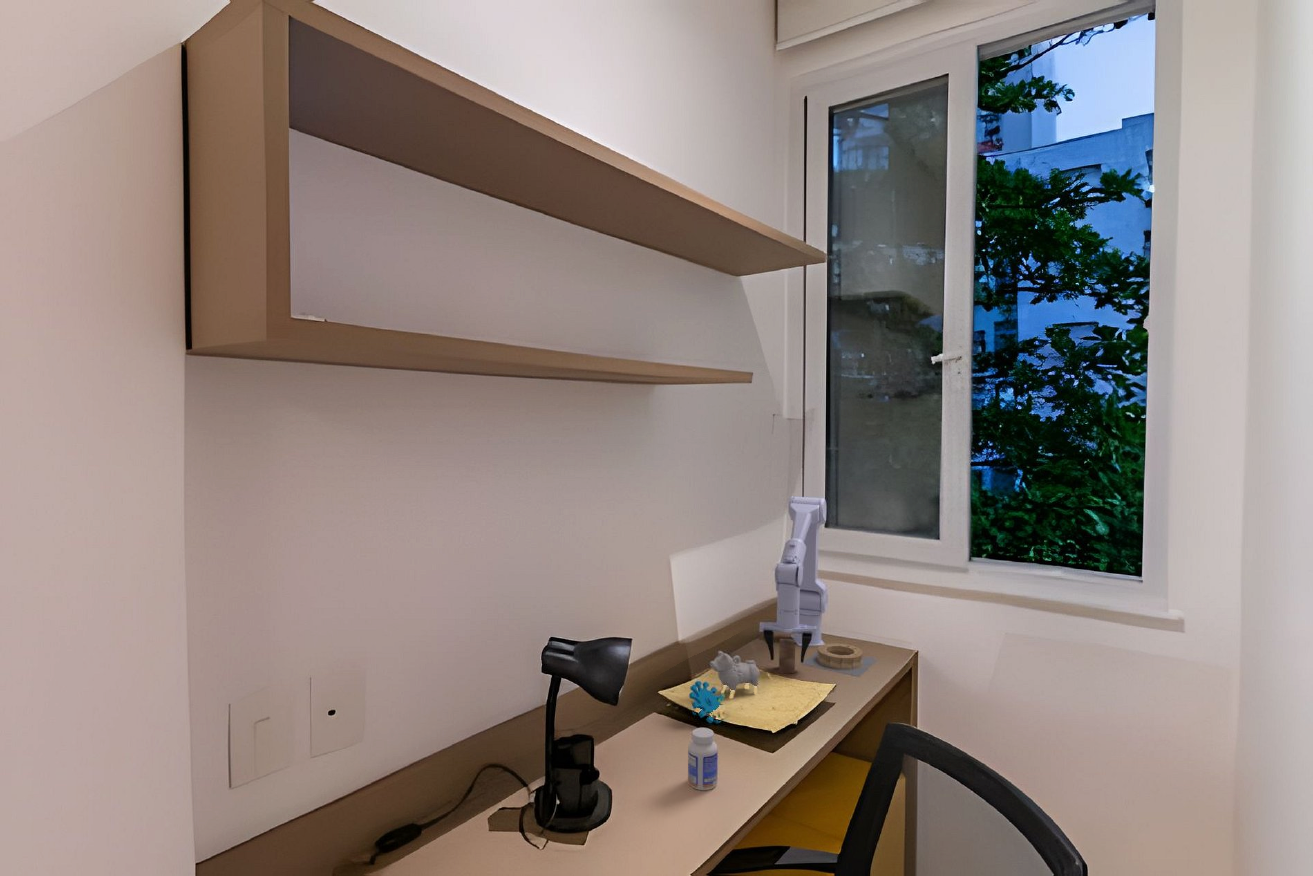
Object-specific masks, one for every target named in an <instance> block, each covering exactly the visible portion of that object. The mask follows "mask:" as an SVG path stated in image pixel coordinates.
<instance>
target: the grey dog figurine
mask: <svg viewBox="0 0 1313 876" xmlns="http://www.w3.org/2000/svg"><path fill="white" fill-rule="evenodd" d="M717 654H718V655H717V656H716V657H715V658H713V659H714V660H711V661H710V662H709V665H710V667H711V669H712V670H713V671H714V672H716V673H717V675H718V679H719V680H720V682H721V685H722V684H723V685H727V686H728V687H727V688H728V689H729V690H730V689H731V690H735V689H737V687H738V686H739V685H740V684H745V683H750V684H751V685H752V686H753V685H754V686H757V685H758V686H759V679H760V673H761V672H760V670H759V668H758V667H757V663H756V661H755V660H751V659H750V660H749V659H748V660H747V659H746V660H745V662H741V657H740V655H734V656H733V657H731V656H730V655H729V654H728V653H724V652H723V651H722V650H719V651H717ZM735 691H736V690H735Z"/></svg>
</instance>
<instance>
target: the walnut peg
mask: <svg viewBox="0 0 1313 876" xmlns="http://www.w3.org/2000/svg"><path fill="white" fill-rule="evenodd" d="M778 643H779V645H778V646H779V647H778V650H779V651H778V654H779V655H778V673H780V674H782V673H783V674H795V672H796V663H795V662H796V642H795V640H794V639H789V638H779V642H778Z"/></svg>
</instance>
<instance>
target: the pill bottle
mask: <svg viewBox="0 0 1313 876" xmlns="http://www.w3.org/2000/svg"><path fill="white" fill-rule="evenodd" d="M691 739H692V740H691V742H689V744H688V747H687V748H688V749H687V755H688V757H687V765H688V766H687V778H688V779H687V780H688V781H687V782H688V785H689V786H690V787H691V788H693V789H695V790H698V791H710V790H712V789H714V788H716V786H717V785H718V769H719V768H718V762H719V761H718V758H719V756H718V744H717V743H716V742H715V741H714V740H715V734H714V730H712V729H710V728H708V727H698V728H695V729H693V730H692V732H691Z"/></svg>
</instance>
